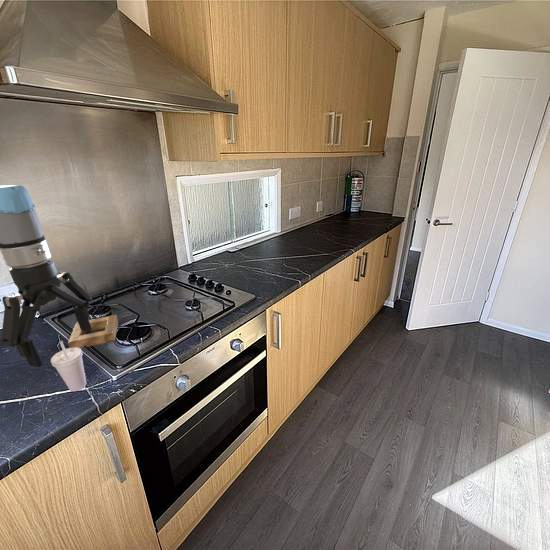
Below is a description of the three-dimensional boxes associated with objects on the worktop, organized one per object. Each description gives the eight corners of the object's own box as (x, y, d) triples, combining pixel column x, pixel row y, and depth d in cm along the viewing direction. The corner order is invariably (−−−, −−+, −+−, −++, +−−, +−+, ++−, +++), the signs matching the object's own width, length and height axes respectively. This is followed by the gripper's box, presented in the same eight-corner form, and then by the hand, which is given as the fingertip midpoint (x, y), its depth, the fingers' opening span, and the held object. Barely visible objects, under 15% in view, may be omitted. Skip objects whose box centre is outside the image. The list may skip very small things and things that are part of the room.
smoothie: (64, 399, 70) (44, 352, 65) (61, 384, 75) (43, 339, 69) (94, 386, 74) (78, 341, 68) (90, 373, 79) (74, 329, 73)
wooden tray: (70, 350, 88) (67, 342, 87) (79, 330, 98) (76, 322, 97) (114, 340, 92) (112, 332, 91) (118, 322, 102) (116, 314, 101)
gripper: (-24, 289, 49) (23, 386, 58) (92, 245, 71) (114, 319, 80) (-56, 286, 51) (-6, 381, 59) (67, 244, 73) (91, 317, 81)
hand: (63, 346), depth 70 cm, fingers open, 13 cm apart
